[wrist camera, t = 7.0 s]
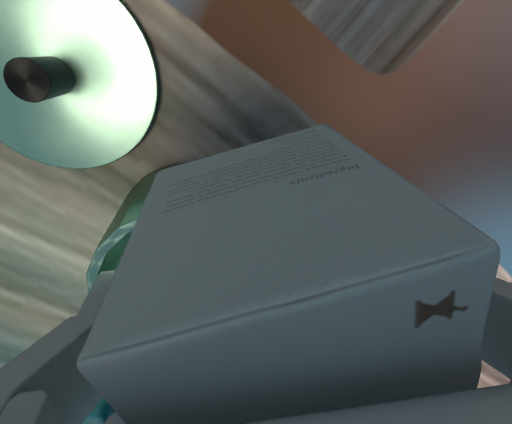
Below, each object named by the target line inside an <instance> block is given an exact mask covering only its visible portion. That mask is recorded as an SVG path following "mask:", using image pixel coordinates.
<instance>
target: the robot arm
mask: <svg viewBox="0 0 512 424" xmlns="http://www.w3.org/2000/svg"><path fill="white" fill-rule="evenodd" d="M115 271H116V270H110V271H102V272H101V273H99V274H98V276H97V278H96V280H95V282H94V284H93V286H92V288H91V290H90V292H89V294H88V295H87V297H86V299H85V301H84V303H83V305H82V307H81V309H80V311H79V313H78V315H77V316H75V317H70V318H68V319H67V320H66V321H64V322H63V323H62V324H60V325H59V326H57V327H56V328H55V329H53V330H52V331H51V332H49V333H48V334H47V335H45V336H44V337H42V338H41V339H40V340H38V341H37V342H36V343H34V344H33V345H32V346H30V347H29V348H27V349H26V350H25V351H23V352H22V353H21V354H19V355H18V356H17V357H15V358H14V359H12V360H11V361H10V362H8V363H7V364H6V365H4V366H3V367H2V368H0V424H81V423H82V422H83V421H84V420H85V418H86V417H87V416H88V415H89V413H90V412H91V411H92V410H93V408H94V407H95V406H96V405H97V403H98V402H99V401H100V400H101V398H102V396H101V394H100V393H99V392H98V391H97V390H96V389H95V388H94V387H93V386H92V385H91V384H90V383H89V382H88V381H87V380H86V379H85V378H84V377H83V376H82V374H81V373H80V372H79V371H78V369H77V366H76V363H77V359H78V357H79V355H80V353H81V351H82V349H83V346H84V344H85V342H86V339H87V337H88V335H89V332H90V330H91V328H92V325H93V323H94V321H95V318H96V316H97V314H98V312H99V309H100V307H101V305H102V302H103V300H104V298H105V295H106V293H107V290H108V288H109V285H110V283H111V281H112V279H113V276H114V274H115ZM481 359H482V360H483V361H485V362H486V363H487V364H489V365H490V366H492V367H493V368H495V369H496V370H498V371H499V372H501V373H502V374H504V375H505V376H507V377H508V378H509V379H511V381H510V382H509V384H505V385H498V386H491V387H485V388H478V389H471V390H465V391H458V392H451V393H444V394H438V395H431V396H424V397H418V398H411V399H404V400H397V401H391V402H384V403H377V404H371V405H364V406H357V407H350V408H343V409H337V410H330V411H323V412H316V413H309V414H302V415H296V416H289V417H282V418H275V419H268V420H262V421H255V422H248V423H241V424H512V284H511V283H509V282H506V281H504V280H501V279H498V278H495V282H494V287H493V291H492V296H491V300H490V305H489V309H488V314H487V319H486V323H485V328H484V333H483V338H482V344H481Z"/></svg>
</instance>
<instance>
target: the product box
mask: <svg viewBox="0 0 512 424" xmlns="http://www.w3.org/2000/svg"><path fill="white" fill-rule="evenodd" d="M499 260H500V248H499V246H498V244H497V243H496V242H495V240H493V239H492V238H490V237H489V236H487V235H486V234H485V233H483V232H482V231H480V230H479V229H478V228H476V227H475V226H473V225H472V224H470V223H469V222H467V221H466V220H464V219H463V218H461V217H460V216H459V215H457V214H455V213H454V212H452V211H451V210H449V209H448V208H447V207H445V206H444V205H442V204H441V203H439V202H438V201H436V200H435V199H434V198H432V197H431V196H429V195H427V194H426V193H425V192H423V191H422V190H420V189H419V188H418V187H416V186H415V185H413V184H412V183H410V182H409V181H407V180H406V179H404V178H403V177H401V176H400V175H399V174H397V173H396V172H394V171H393V170H391V169H390V168H388V167H387V166H386V165H384V164H383V163H381V162H380V161H378V160H377V159H376V158H374V157H373V156H371V155H370V154H368V153H367V152H365V151H364V150H362V149H361V148H360V147H358V146H357V145H355V144H354V143H353V142H351V141H350V140H348V139H347V138H345V137H344V136H342V135H341V134H340V133H338V132H337V131H335V130H334V129H333V128H331V127H330V126H328V125H325V124H323V125H317V126H314V127H311V128H308V129H304V130H300V131H297V132H293V133H290V134H286V135H283V136H279V137H276V138H272V139H269V140H265V141H261V142H258V143H254V144H251V145H247V146H244V147H240V148H237V149H233V150H230V151H226V152H223V153H219V154H216V155H212V156H209V157H205V158H202V159H198V160H195V161H191V162H188V163H184V164H181V165H178V166H174V167H171V168H167V169H164V170H161V171H159V172H157V174H156V177H155V179H154V182H153V184H152V186H151V189H150V191H149V193H148V196H147V198H146V200H145V203H144V205H143V207H142V209H141V212H140V214H139V217H138V219H137V221H136V224H135V226H134V229H133V231H132V233H131V236H130V238H129V241H128V243H127V245H126V248H125V250H124V252H123V255H122V257H121V260H120V262H119V265H118V267H117V269H116V271H115V274H114V276H113V279H112V281H111V283H110V285H109V288H108V290H107V293H106V295H105V298H104V300H103V302H102V305H101V307H100V309H99V312H98V314H97V316H96V318H95V321H94V323H93V325H92V328H91V330H90V332H89V335H88V337H87V339H86V342H85V344H84V346H83V349H82V351H81V353H80V355H79V357H78V359H77V363H76V366H77V369H78V371H79V372H80V373H81V374H82V376H83V377H84V378H85V379H86V380H87V381H88V382H89V383H90V384H91V385H92V386H93V387H94V388H95V389H96V390H97V391H98V392H99V393H100V394H101V396H102V397H103V398H104V399H105V400H106V402H107V403H108V404H109V405H110V406H111V407H112V408H113V409H114V410H115V411H116V412H117V413H118V415H119V416H120V417H121V418H122V419H123V420H124V422H125V423H126V424H241V423H248V422H255V421H262V420H268V419H275V418H282V417H289V416H296V415H302V414H309V413H316V412H323V411H330V410H337V409H343V408H350V407H357V406H364V405H371V404H377V403H384V402H391V401H397V400H404V399H411V398H418V397H424V396H431V395H438V394H444V393H451V392H458V391H465V390H471V389H477V385H478V382H479V377H480V373H481V344H482V338H483V333H484V328H485V323H486V319H487V314H488V309H489V305H490V300H491V296H492V291H493V287H494V282H495V278H496V274H497V269H498V265H499Z"/></svg>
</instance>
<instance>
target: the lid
mask: <svg viewBox="0 0 512 424" xmlns="http://www.w3.org/2000/svg"><path fill="white" fill-rule="evenodd" d="M157 102H158V76H157V70H156V65H155V60H154V57H153V54H152V51H151V48H150V45H149V43H148V41H147V39H146V37H145V35H144V33H143V31H142V29H141V27H140V26H139V24H138V22H137V21H136V19H135V18H134V16H133V15H132V14H131V12H130V11H129V10H128V8H127V7H126V6H125V5H124V4H123V3H122V1H121V0H0V141H1V142H2V143H4V144H5V145H7V146H8V147H10V148H11V149H13V150H15V151H17V152H18V153H20V154H22V155H24V156H26V157H29V158H31V159H33V160H36V161H39V162H41V163H44V164H48V165H52V166H57V167H63V168H71V169H85V168H93V167H98V166H102V165H106V164H109V163H111V162H114V161H116V160H118V159H120V158H121V157H123V156H125V155H126V154H127V153H129V152H130V151H131V150H133V149H134V148H135V147H136V146H137V144H138V143H139V142H140V141H141V140H142V139H143V137H144V136H145V134H146V133H147V131H148V129H149V127H150V125H151V123H152V121H153V118H154V115H155V112H156V107H157Z"/></svg>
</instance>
